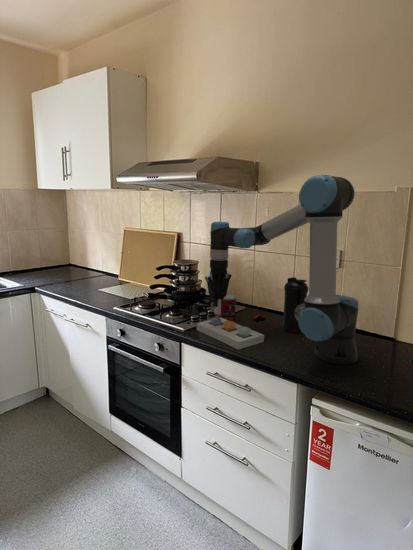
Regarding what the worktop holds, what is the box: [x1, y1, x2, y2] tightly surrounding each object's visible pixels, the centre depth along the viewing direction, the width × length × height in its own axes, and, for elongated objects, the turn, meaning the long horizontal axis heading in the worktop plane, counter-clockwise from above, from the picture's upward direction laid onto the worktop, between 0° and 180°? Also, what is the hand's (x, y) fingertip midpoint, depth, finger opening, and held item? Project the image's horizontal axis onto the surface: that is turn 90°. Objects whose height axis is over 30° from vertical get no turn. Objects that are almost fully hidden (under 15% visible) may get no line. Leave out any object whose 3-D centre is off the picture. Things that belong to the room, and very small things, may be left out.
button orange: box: [224, 320, 236, 332], centre depth 161 cm, size 4×4×4 cm
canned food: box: [218, 294, 237, 321], centre depth 182 cm, size 8×8×11 cm
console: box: [196, 317, 265, 350], centre depth 161 cm, size 26×14×3 cm, turn 39°
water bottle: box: [282, 276, 309, 334], centre depth 170 cm, size 10×10×23 cm
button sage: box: [238, 325, 251, 338], centre depth 154 cm, size 4×4×4 cm
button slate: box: [210, 317, 221, 326], centre depth 167 cm, size 4×4×4 cm
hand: (217, 313), depth 166 cm, fingers closed
